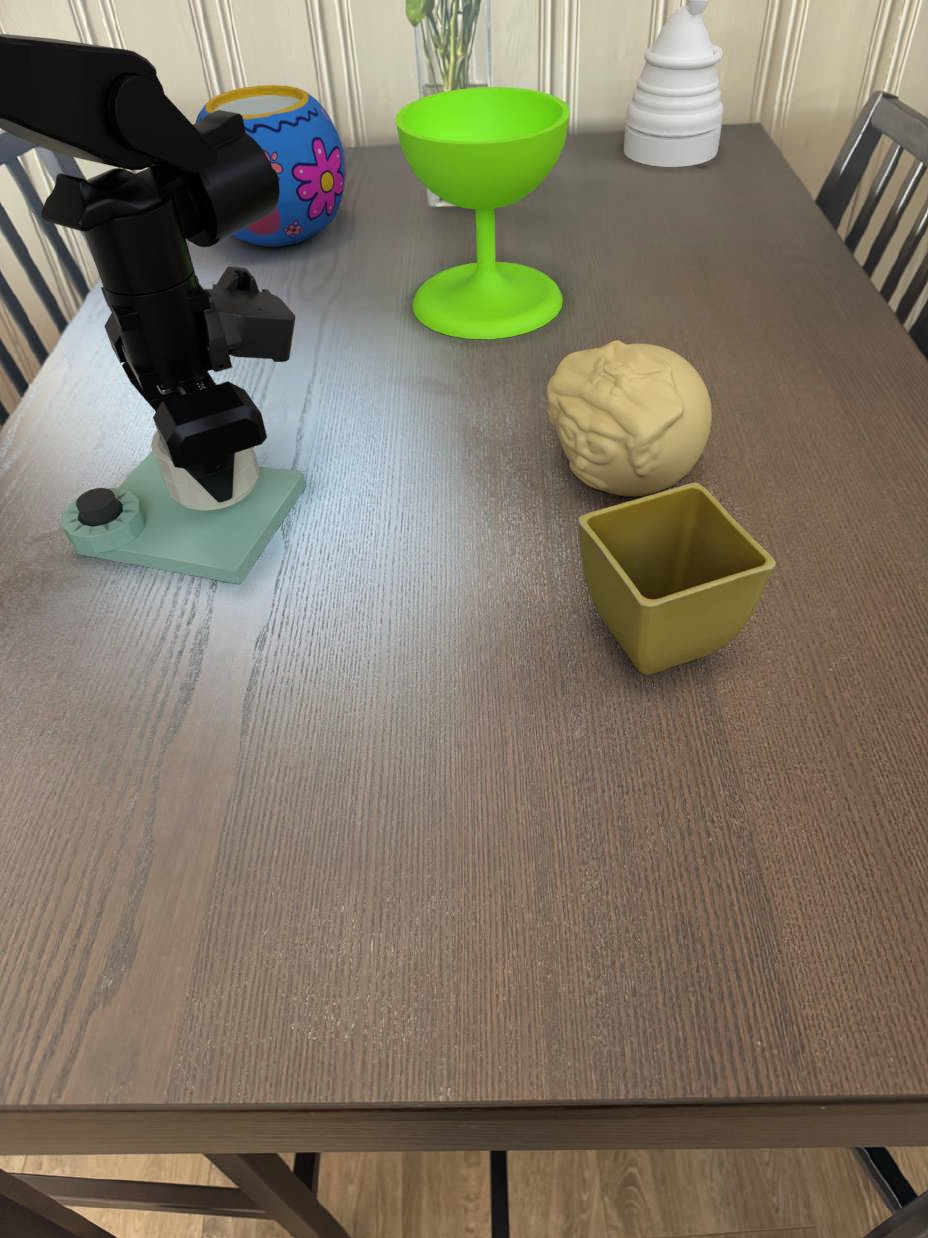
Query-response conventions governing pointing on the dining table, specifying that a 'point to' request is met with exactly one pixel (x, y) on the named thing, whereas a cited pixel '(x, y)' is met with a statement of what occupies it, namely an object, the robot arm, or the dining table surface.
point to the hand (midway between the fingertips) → (210, 474)
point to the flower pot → (672, 575)
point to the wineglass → (484, 200)
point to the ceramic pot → (290, 159)
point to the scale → (187, 526)
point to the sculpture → (629, 416)
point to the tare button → (98, 507)
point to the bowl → (191, 491)
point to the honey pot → (677, 95)
